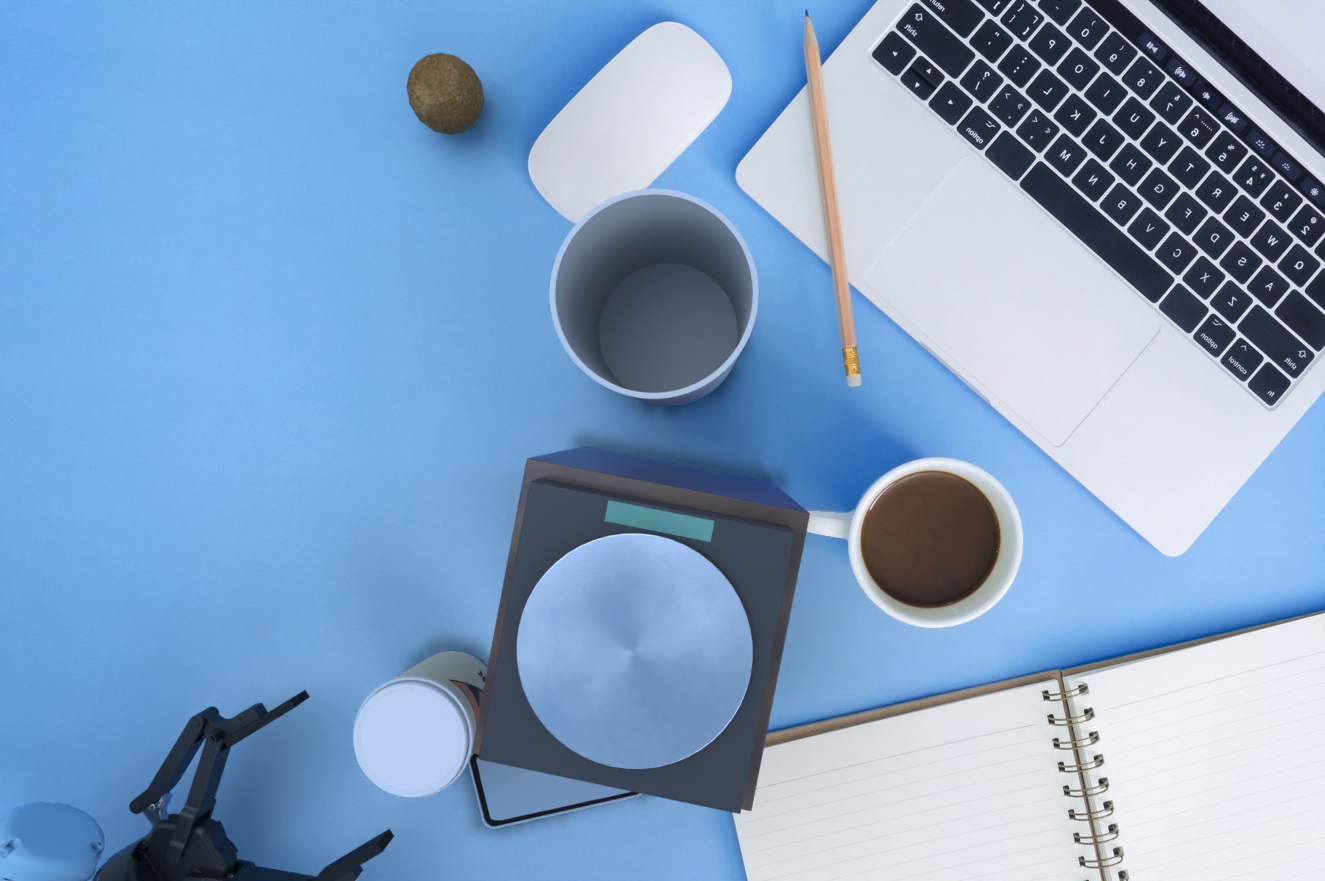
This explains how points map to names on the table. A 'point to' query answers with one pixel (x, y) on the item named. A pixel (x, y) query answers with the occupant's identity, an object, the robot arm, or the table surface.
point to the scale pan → (634, 650)
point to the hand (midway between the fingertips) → (343, 768)
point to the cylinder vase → (655, 295)
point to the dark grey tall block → (672, 488)
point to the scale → (730, 542)
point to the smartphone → (532, 793)
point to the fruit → (445, 93)
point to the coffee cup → (421, 725)
